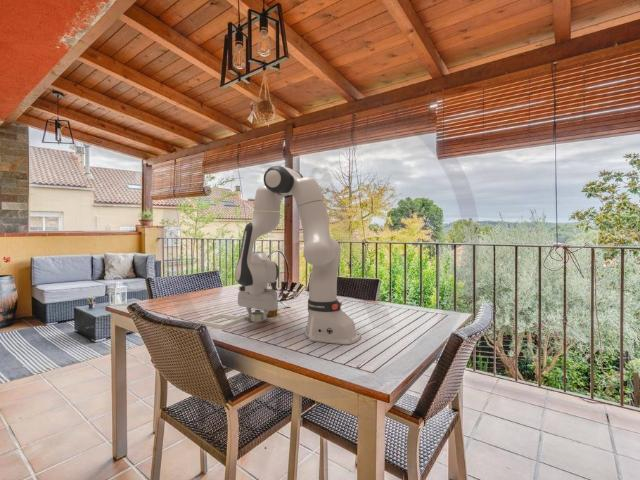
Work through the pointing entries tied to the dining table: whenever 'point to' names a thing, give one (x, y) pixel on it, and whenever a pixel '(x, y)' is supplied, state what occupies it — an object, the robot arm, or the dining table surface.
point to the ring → (257, 317)
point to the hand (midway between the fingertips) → (257, 318)
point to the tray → (221, 326)
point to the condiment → (272, 313)
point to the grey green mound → (257, 312)
